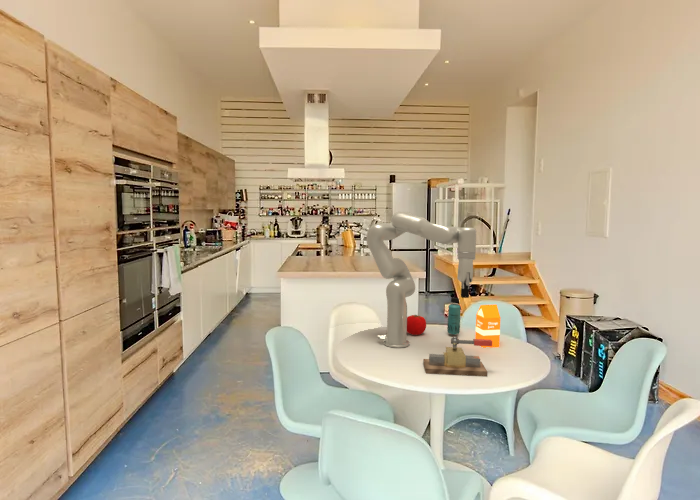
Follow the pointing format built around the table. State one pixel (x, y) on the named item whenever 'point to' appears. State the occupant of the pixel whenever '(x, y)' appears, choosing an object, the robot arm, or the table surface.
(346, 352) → the table surface
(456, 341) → the lever
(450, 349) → the valve
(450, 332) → the beverage bottle
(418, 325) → the tomato
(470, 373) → the board
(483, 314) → the orange juice
